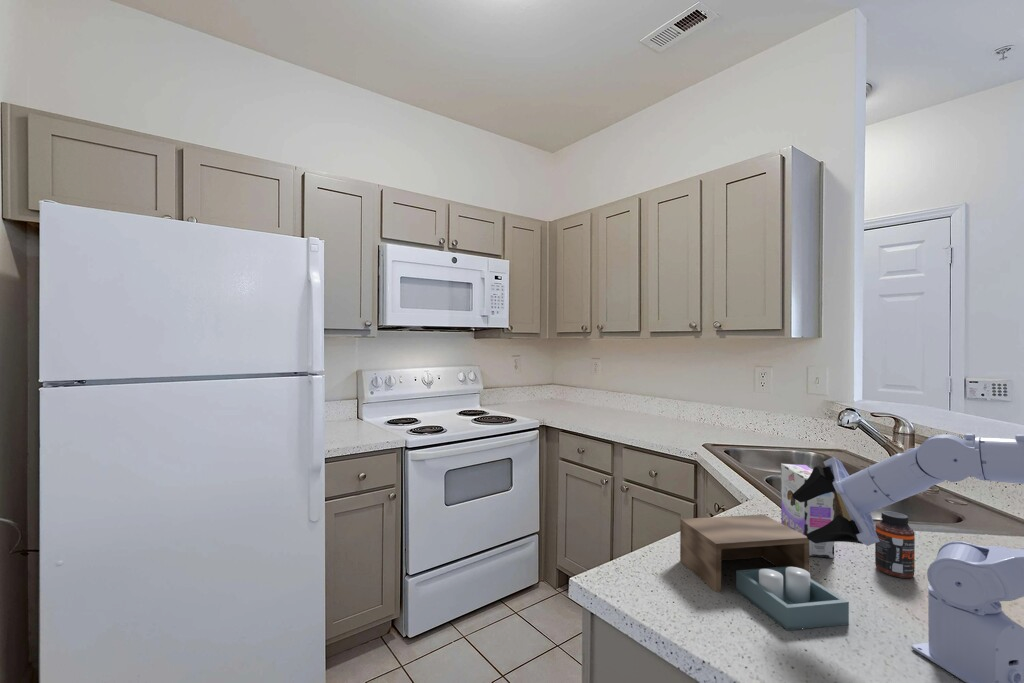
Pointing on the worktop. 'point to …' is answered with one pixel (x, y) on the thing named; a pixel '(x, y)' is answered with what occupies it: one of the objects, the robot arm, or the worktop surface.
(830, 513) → the candy box
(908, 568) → the supplement bottle
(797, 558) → the shelf
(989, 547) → the robot arm
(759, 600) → the tray
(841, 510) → the rock
